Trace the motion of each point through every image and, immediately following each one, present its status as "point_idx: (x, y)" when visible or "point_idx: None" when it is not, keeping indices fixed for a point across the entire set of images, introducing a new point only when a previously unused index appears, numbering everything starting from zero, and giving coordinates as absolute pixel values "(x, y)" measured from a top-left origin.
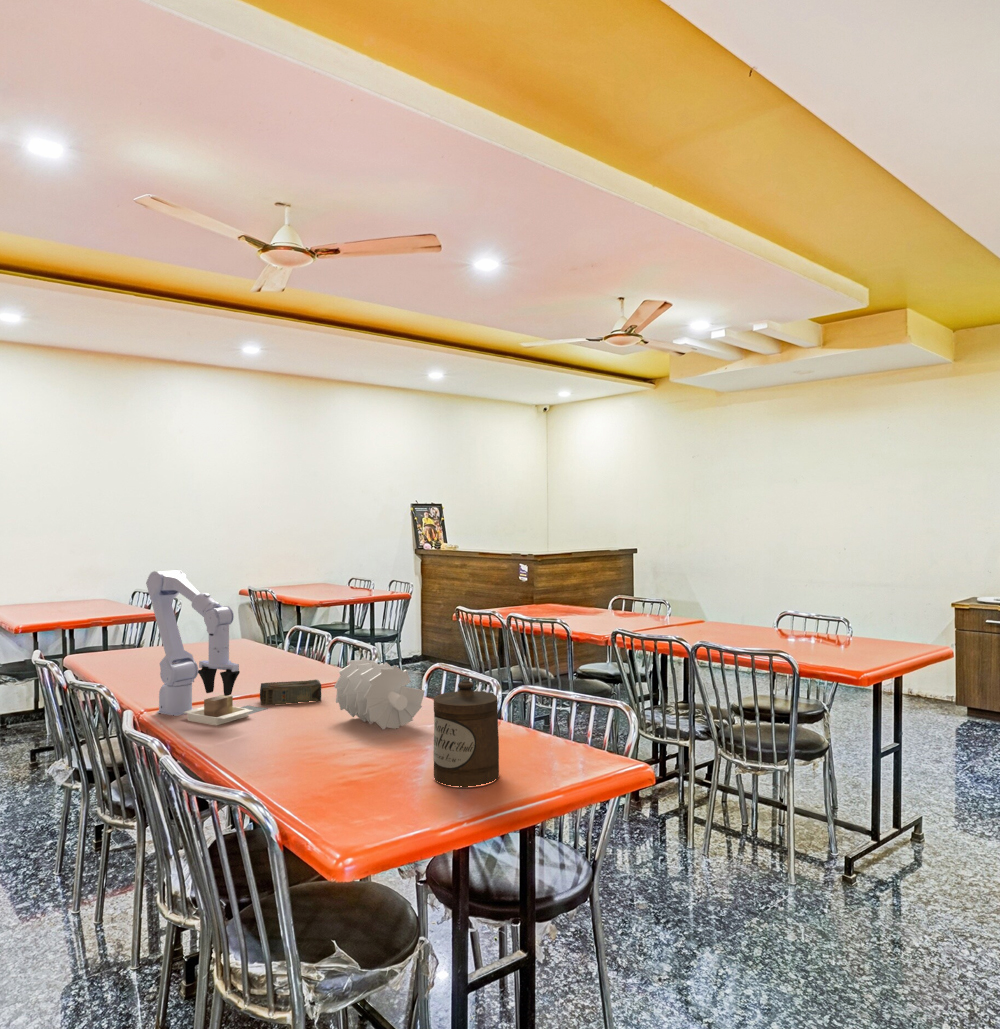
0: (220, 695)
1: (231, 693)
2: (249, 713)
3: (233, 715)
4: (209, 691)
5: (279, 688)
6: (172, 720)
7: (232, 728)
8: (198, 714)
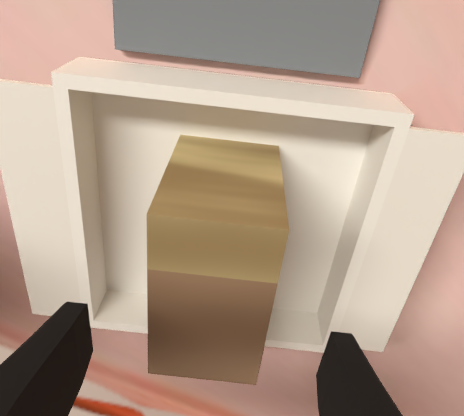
0: (149, 244)
1: (356, 341)
2: (357, 23)
3: (401, 292)
4: (85, 346)
5: None
6: (5, 292)
7: (427, 312)
8: None
